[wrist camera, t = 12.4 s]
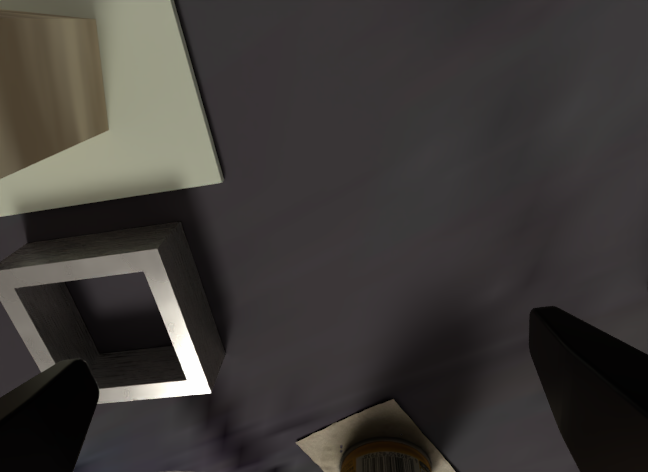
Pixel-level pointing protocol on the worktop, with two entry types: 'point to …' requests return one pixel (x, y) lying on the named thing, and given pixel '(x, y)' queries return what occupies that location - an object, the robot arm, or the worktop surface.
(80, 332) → the collar
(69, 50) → the block
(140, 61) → the mat
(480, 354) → the worktop surface
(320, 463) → the condiment
